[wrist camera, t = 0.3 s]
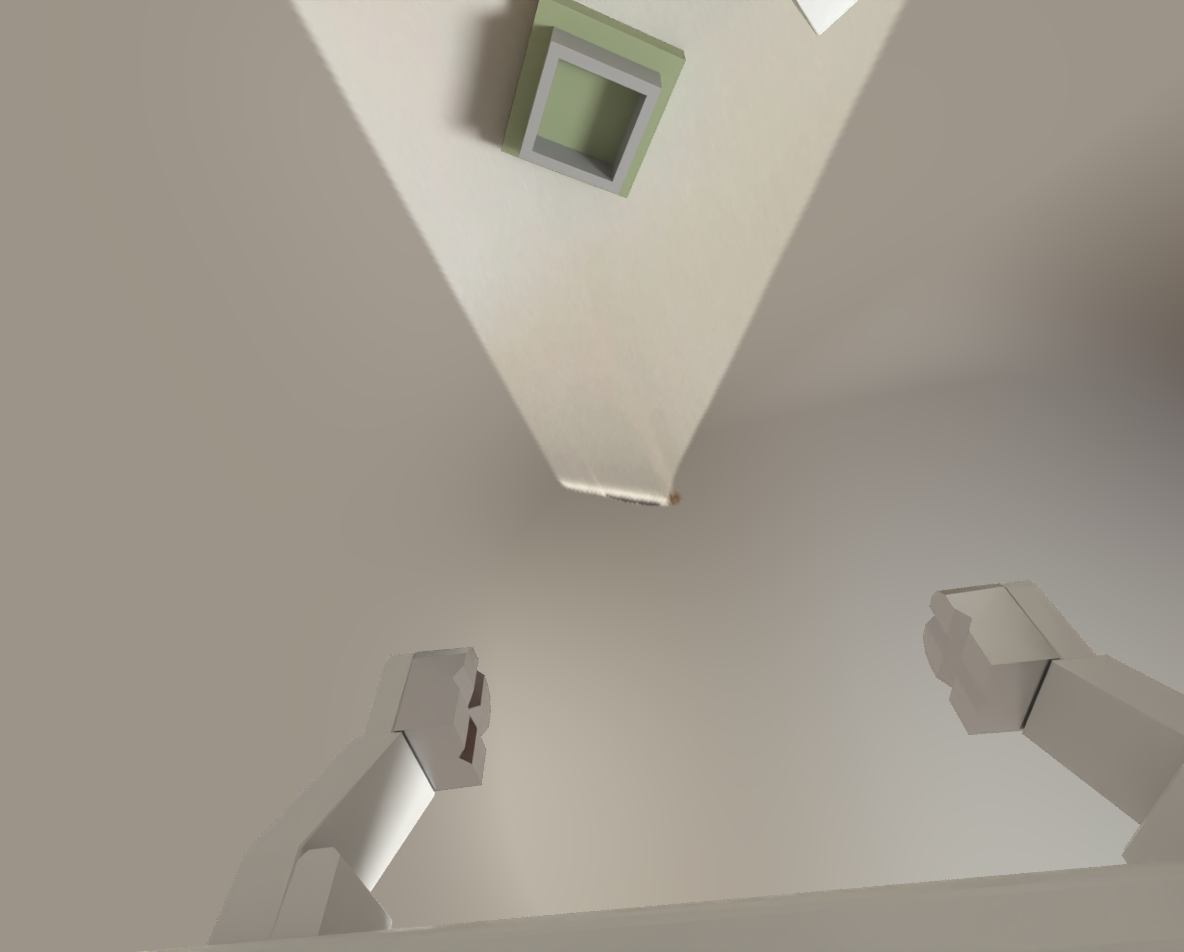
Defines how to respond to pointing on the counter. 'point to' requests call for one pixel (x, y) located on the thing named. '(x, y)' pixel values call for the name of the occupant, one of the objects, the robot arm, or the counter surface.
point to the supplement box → (822, 12)
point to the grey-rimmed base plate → (590, 95)
